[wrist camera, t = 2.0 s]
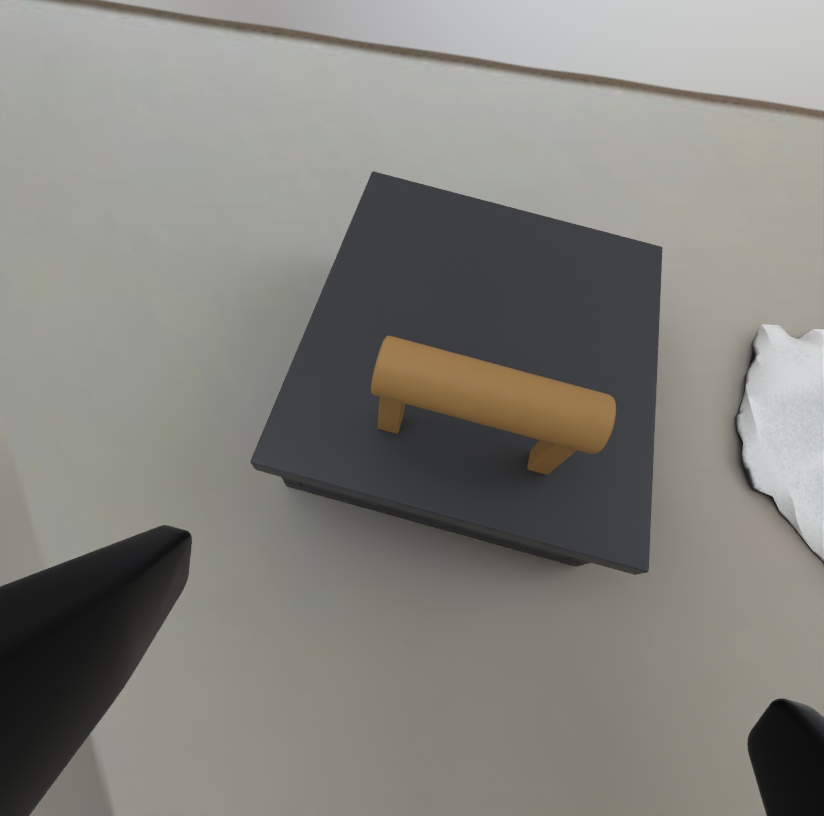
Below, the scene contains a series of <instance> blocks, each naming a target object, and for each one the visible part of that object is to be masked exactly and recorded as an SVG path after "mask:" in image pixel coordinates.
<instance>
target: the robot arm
mask: <svg viewBox="0 0 824 816" xmlns="http://www.w3.org/2000/svg"><path fill="white" fill-rule="evenodd" d="M191 544H192V537H191V534H190V533H189V532H188V531H186V530H183V529H179V528H175V527H172V526H167V525H163V526H159V527H156V528H154V529H151V530H149V531H146V532H143V533H141V534H138V535H135V536H133V537H130V538H127V539H125V540H122V541H119V542H117V543H114V544H112V545H109V546H106V547H104V548H101V549H98V550H96V551H93V552H90V553H88V554H85V555H83V556H80V557H77V558H75V559H72V560H69V561H67V562H64V563H61V564H59V565H56V566H53V567H51V568H48V569H46V570H43V571H40V572H38V573H35V574H32V575H30V576H27V577H24V578H22V579H19V580H17V581H14V582H11V583H9V584H6V585H3V586H1V587H0V816H29V815H30V814H31V813H32V811H33V810H34V809H35V807H36V806H37V805H38V803H39V802H40V800H41V799H42V798H43V796H44V795H45V794H46V792H47V791H48V790H49V788H50V787H51V785H52V784H53V783H54V782H55V780H56V779H57V778H58V776H59V775H60V774H61V772H62V771H63V769H64V768H65V767H66V765H67V764H68V763H69V761H70V760H71V759H72V757H73V756H74V755H75V753H76V752H77V751H78V749H79V748H80V747H81V745H82V744H83V743H84V741H85V740H86V738H87V737H88V736H89V734H90V733H91V732H92V730H93V729H94V728H95V726H96V725H97V724H98V722H99V721H100V720H101V718H102V717H103V716H104V714H105V713H106V712H107V710H108V709H109V707H110V706H111V705H112V703H113V702H114V701H115V699H116V698H117V696H118V695H119V693H120V692H121V691H122V689H123V688H124V686H125V685H126V683H127V682H128V680H129V678H130V677H131V675H132V674H133V672H134V671H135V669H136V667H137V666H138V664H139V662H140V661H141V659H142V657H143V656H144V654H145V652H146V651H147V649H148V647H149V646H150V644H151V642H152V641H153V639H154V637H155V636H156V634H157V632H158V631H159V629H160V627H161V626H162V624H163V622H164V621H165V619H166V617H167V616H168V614H169V612H170V611H171V609H172V607H173V606H174V604H175V603H176V601H177V599H178V598H179V596H180V594H181V593H182V591H183V589H184V587H185V585H186V582H187V579H188V574H189V565H190V555H191ZM747 745H748V753H749V756H750V760H751V763H752V767H753V770H754V774H755V777H756V780H757V784H758V787H759V791H760V794H761V798H762V801H763V804H764V808H765V811H766V815H767V816H824V717H823V716H822V715H820V714H819V713H818V712H817V711H815V710H814V709H813V708H811V707H809V706H807V705H804V704H801V703H797V702H794V701H790V700H787V699H777V700H774V701H773V702H772V703H771V704H770V705H769V706H768V708H767V709H766V711H765V712H764V713H763V715H762V716H761V718H760V719H759V720H758V722H757V723H756V725H755V726H754V727H753V729H752V730H751V732H750V733H749V736H748V743H747Z"/></svg>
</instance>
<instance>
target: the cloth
mask: <svg viewBox="0 0 824 816" xmlns="http://www.w3.org/2000/svg"><path fill="white" fill-rule="evenodd" d="M753 348H754V351H753V355H752V358H751V362H750V366H749V369H748V371H747V374H746V376H745V380H746V387H745V393H744V396H743V399H742V402H741V405H740V408H739V411H738V414H737V415H736V425H737V430H738V432H739V435H740V437H741V439H742V441H743V451H742V461H743V464H744V467H745V470H746V473H747V476H748V478H749V481H750V484H751V487H752V489H755V490H757V491H760V492H762V493H765V494H768V495H770V496H773V498H774V500H775V502H776V504H777V506H778V508H779V511H780V513H781V514H782V515H783V516H784V517H785V518H786V519H787V520H788V522H789V523H790V524H791V525H792V526H793V527H794V528H795V529H796V530H797V531H798V533H799V534H800V535H801V536H802V538H803V539H804V540H805V542H806V543H807V544H808V545H809V547H810V548H811V549H812V551H813V552H814V553H815V554H816V555H817V556H818V557H820V558H821V559H822V560H823V561H824V330H821V329H813V330H811V331H810V332H808V333H807V334H805V335H804V336H802V337H801V338H799V339H797V338H793V337H790V336H789V335H788V334H787V333H786V332H785V331H784V330H783V329H782V328H781V327H780V326H779V325H765V324H761V326H760V328H759V331H758V333H757V335H756V337H755V339H754V341H753Z"/></svg>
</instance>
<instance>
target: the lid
mask: <svg viewBox="0 0 824 816" xmlns="http://www.w3.org/2000/svg"><path fill="white" fill-rule="evenodd" d="M661 266H662V247H660V246H656V245H653V244H649V243H645V242H641V241H637V240H633V239H630V238H626V237H622V236H618V235H614V234H610V233H607V232H603V231H599V230H595V229H591V228H587V227H584V226H580V225H576V224H572V223H568V222H565V221H561V220H557V219H553V218H549V217H545V216H542V215H538V214H534V213H530V212H526V211H522V210H519V209H515V208H511V207H507V206H503V205H499V204H496V203H492V202H488V201H484V200H480V199H477V198H473V197H469V196H465V195H461V194H457V193H454V192H450V191H446V190H442V189H438V188H434V187H431V186H427V185H423V184H419V183H415V182H411V181H408V180H404V179H400V178H396V177H392V176H389V175H385V174H381V173H377V172H372V173H371V176H370V178H369V180H368V183H367V185H366V188H365V190H364V192H363V195H362V197H361V199H360V202H359V204H358V207H357V209H356V211H355V214H354V216H353V219H352V221H351V223H350V226H349V228H348V230H347V233H346V235H345V238H344V240H343V242H342V245H341V247H340V249H339V252H338V254H337V257H336V259H335V261H334V264H333V266H332V268H331V271H330V273H329V276H328V278H327V280H326V283H325V285H324V288H323V290H322V292H321V295H320V297H319V299H318V302H317V304H316V307H315V309H314V311H313V314H312V316H311V318H310V321H309V323H308V326H307V328H306V330H305V333H304V335H303V337H302V340H301V342H300V345H299V347H298V349H297V352H296V354H295V357H294V359H293V361H292V364H291V366H290V368H289V371H288V373H287V376H286V378H285V380H284V383H283V385H282V387H281V390H280V392H279V395H278V397H277V399H276V402H275V404H274V406H273V409H272V411H271V414H270V416H269V418H268V421H267V423H266V426H265V428H264V430H263V433H262V435H261V437H260V440H259V442H258V445H257V447H256V449H255V452H254V454H253V456H252V459H251V464H252V465H253V467H254V468H255V469H256V470H259V471H263V472H266V473H270V474H273V475H277V476H281V477H284V478H288V479H291V480H295V481H299V482H302V483H306V484H309V485H313V486H317V487H320V488H324V489H327V490H331V491H335V492H338V493H342V494H346V495H349V496H353V497H356V498H360V499H364V500H367V501H371V502H374V503H378V504H382V505H385V506H389V507H392V508H396V509H400V510H403V511H407V512H411V513H414V514H418V515H421V516H425V517H429V518H432V519H436V520H439V521H443V522H447V523H450V524H454V525H457V526H461V527H465V528H468V529H472V530H476V531H479V532H483V533H486V534H490V535H494V536H497V537H501V538H504V539H508V540H512V541H515V542H519V543H522V544H526V545H530V546H533V547H537V548H541V549H544V550H548V551H551V552H555V553H559V554H562V555H566V556H569V557H573V558H577V559H580V560H584V561H587V562H591V563H595V564H598V565H602V566H606V567H609V568H613V569H616V570H620V571H624V572H627V573H631V574H634V575H636V574H641V573H646V572H648V570H649V546H650V523H651V500H652V476H653V453H654V430H655V406H656V383H657V360H658V336H659V313H660V290H661Z"/></svg>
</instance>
